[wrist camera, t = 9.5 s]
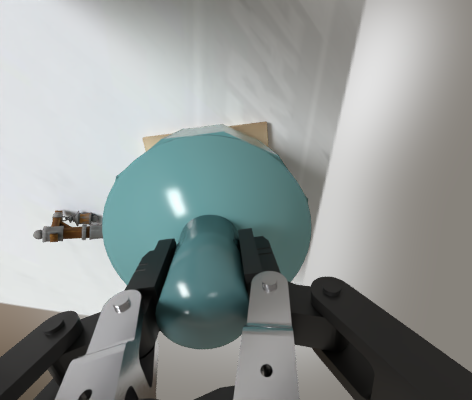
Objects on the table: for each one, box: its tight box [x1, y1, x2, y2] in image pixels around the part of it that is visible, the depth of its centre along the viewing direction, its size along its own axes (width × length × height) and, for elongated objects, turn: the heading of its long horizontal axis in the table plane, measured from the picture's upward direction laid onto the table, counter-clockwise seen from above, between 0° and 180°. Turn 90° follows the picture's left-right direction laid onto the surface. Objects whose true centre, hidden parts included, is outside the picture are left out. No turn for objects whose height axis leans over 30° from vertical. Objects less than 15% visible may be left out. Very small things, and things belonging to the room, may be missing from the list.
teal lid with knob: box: [102, 124, 311, 349], centre depth 14 cm, size 12×12×13 cm
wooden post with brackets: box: [33, 211, 103, 242], centre depth 21 cm, size 2×8×4 cm, turn 76°
